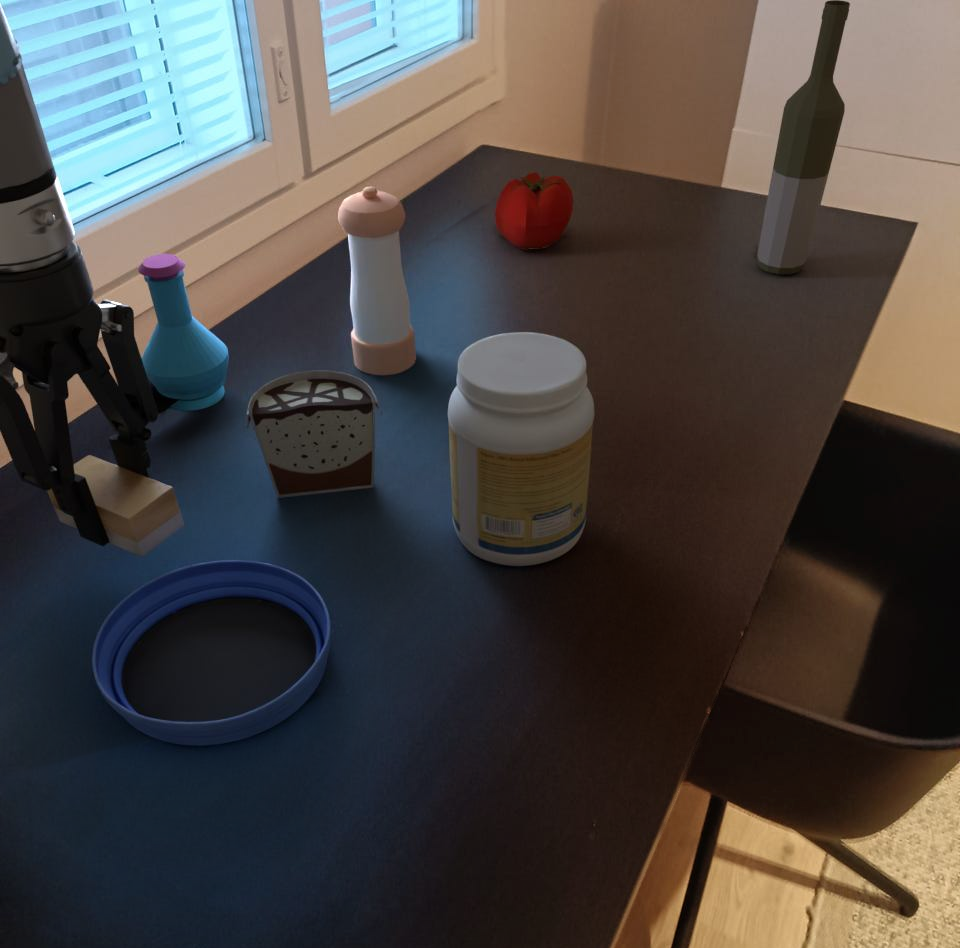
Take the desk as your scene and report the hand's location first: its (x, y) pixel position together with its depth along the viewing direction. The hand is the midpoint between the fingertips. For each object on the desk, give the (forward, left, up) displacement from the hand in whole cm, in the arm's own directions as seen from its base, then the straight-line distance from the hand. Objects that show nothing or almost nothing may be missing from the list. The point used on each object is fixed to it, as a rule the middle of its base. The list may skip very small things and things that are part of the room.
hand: (120, 520), depth 80 cm
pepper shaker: (-1, +41, -5) cm, 41 cm away
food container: (+7, +19, -5) cm, 21 cm away
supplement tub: (+28, +21, -5) cm, 35 cm away
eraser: (0, 0, 0) cm, 0 cm away
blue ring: (+16, -6, -5) cm, 18 cm away
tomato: (-2, +79, -5) cm, 79 cm away
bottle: (+31, +88, -5) cm, 93 cm away
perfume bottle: (-15, +24, -5) cm, 29 cm away
